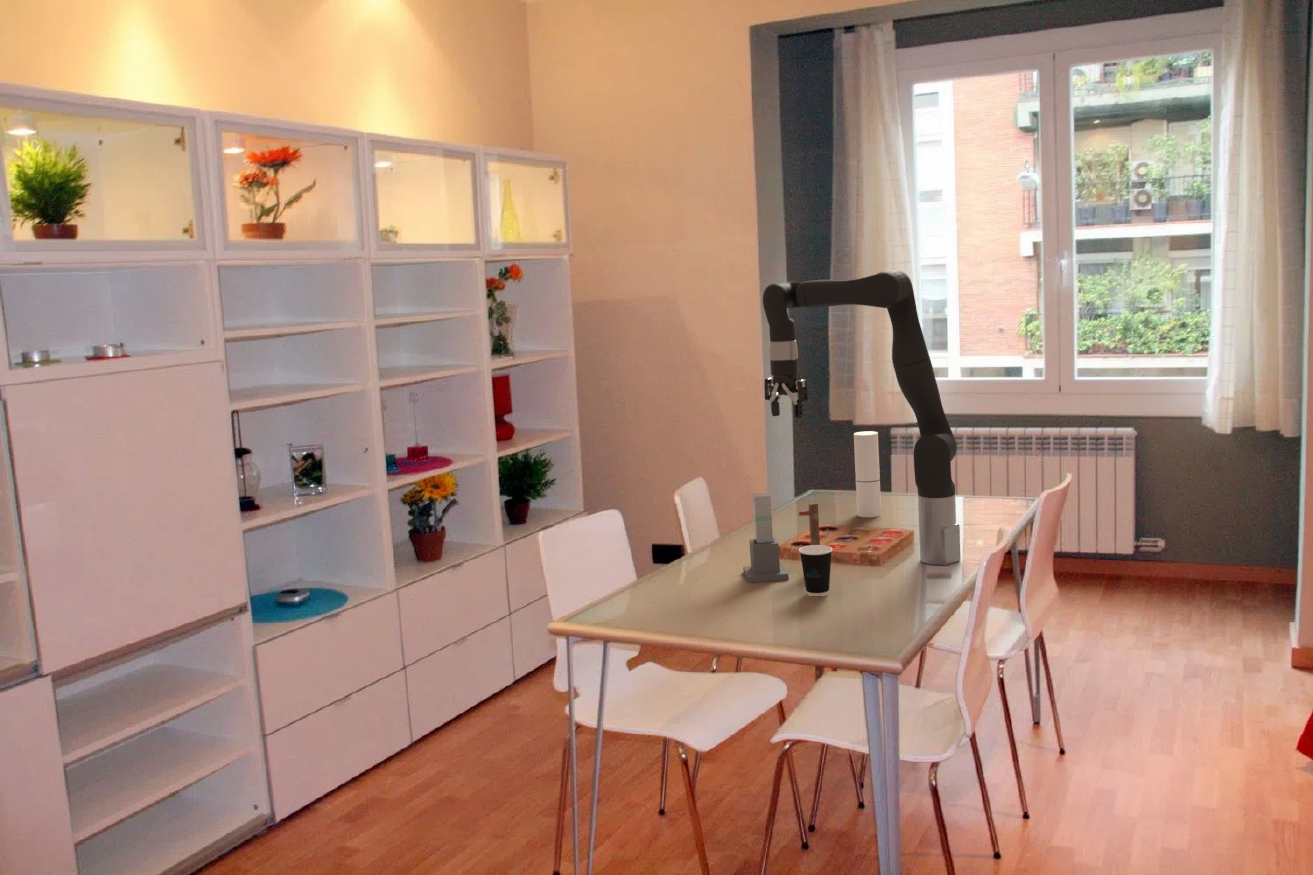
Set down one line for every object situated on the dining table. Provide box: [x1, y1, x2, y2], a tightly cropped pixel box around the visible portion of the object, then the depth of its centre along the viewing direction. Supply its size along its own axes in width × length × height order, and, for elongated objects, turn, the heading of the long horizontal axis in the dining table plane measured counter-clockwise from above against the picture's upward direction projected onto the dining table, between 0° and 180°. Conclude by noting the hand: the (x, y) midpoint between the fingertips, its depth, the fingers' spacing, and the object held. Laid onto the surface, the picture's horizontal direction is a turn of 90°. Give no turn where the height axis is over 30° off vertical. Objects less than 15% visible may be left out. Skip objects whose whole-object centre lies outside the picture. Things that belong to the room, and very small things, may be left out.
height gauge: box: [798, 502, 821, 545], centre depth 290 cm, size 6×4×18 cm
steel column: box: [751, 492, 773, 544], centre depth 288 cm, size 4×4×14 cm
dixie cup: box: [798, 544, 833, 597], centre depth 271 cm, size 8×8×11 cm
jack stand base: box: [742, 537, 790, 584], centre depth 290 cm, size 10×10×9 cm
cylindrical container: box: [853, 430, 882, 518], centre depth 346 cm, size 7×7×25 cm
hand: (787, 417), depth 312 cm, fingers open, 8 cm apart
